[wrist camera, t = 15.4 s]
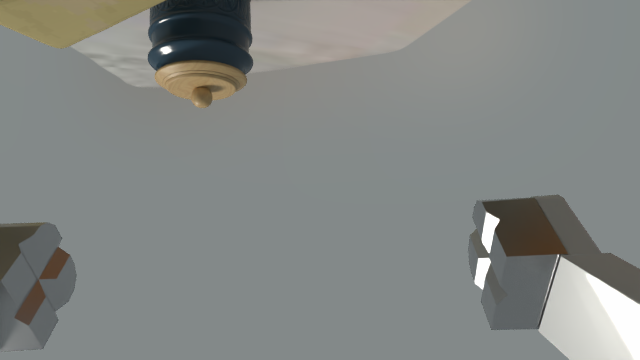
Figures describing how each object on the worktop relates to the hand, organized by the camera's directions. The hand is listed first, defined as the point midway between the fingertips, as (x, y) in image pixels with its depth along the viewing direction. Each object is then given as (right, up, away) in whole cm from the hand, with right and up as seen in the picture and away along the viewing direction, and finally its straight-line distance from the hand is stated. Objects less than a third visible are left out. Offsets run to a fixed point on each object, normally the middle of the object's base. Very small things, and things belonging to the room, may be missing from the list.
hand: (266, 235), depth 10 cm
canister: (-15, +28, +55) cm, 64 cm away
